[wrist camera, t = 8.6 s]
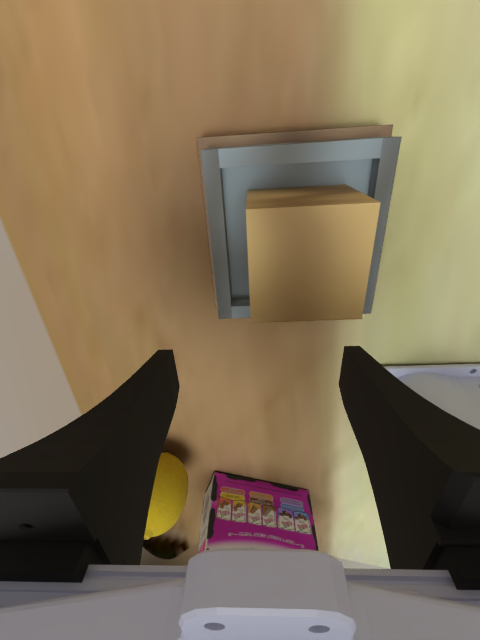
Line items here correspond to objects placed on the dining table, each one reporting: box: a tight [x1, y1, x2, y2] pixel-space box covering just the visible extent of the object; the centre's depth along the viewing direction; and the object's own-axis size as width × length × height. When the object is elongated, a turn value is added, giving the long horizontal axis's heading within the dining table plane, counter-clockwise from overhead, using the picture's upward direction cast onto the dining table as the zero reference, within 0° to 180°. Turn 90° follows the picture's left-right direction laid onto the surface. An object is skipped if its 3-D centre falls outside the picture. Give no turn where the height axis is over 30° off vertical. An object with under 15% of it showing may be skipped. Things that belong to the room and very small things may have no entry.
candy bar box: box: [198, 472, 319, 554], centre depth 29 cm, size 11×5×16 cm, turn 74°
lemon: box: [144, 452, 188, 539], centre depth 29 cm, size 6×6×8 cm
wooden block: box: [246, 184, 381, 323], centre depth 15 cm, size 5×5×5 cm
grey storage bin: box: [197, 125, 401, 319], centre depth 18 cm, size 10×10×4 cm
